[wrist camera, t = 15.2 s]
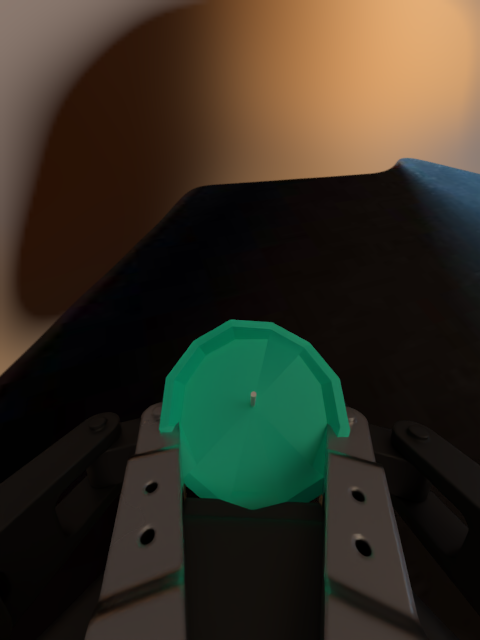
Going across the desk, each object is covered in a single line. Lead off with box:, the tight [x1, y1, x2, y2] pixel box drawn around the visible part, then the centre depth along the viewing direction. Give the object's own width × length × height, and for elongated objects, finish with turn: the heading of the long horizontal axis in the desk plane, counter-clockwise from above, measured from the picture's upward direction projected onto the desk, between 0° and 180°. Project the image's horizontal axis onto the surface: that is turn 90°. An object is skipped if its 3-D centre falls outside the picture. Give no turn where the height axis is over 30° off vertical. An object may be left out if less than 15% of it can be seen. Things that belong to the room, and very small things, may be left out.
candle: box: [159, 320, 350, 510], centre depth 11 cm, size 6×6×12 cm
